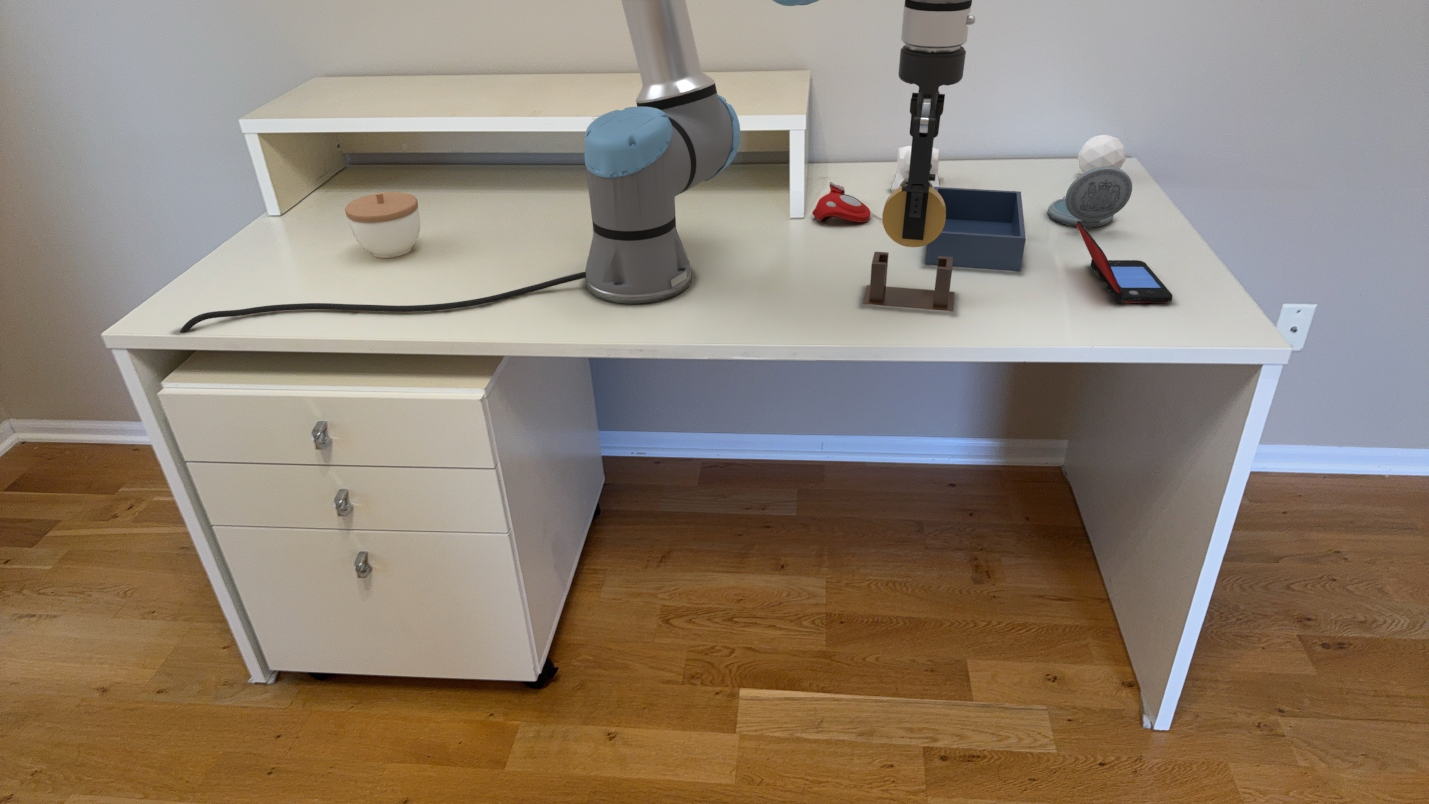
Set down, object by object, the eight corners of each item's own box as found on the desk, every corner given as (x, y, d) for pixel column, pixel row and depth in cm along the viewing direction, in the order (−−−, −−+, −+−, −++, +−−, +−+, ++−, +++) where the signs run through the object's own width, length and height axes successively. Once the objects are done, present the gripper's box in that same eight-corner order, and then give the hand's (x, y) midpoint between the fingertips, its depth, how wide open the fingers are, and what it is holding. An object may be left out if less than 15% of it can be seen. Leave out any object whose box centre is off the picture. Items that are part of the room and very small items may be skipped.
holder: (954, 295, 125) (959, 254, 122) (953, 314, 120) (958, 273, 117) (866, 288, 128) (869, 248, 125) (862, 306, 123) (864, 266, 120)
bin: (1019, 274, 130) (1025, 238, 127) (924, 267, 133) (928, 231, 130) (1015, 224, 146) (1021, 191, 143) (930, 219, 149) (934, 186, 146)
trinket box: (354, 244, 146) (340, 187, 141) (422, 233, 150) (410, 177, 145) (359, 269, 138) (343, 210, 133) (431, 256, 141) (418, 198, 136)
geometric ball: (1101, 190, 166) (1133, 153, 163) (1103, 188, 159) (1137, 150, 156) (1067, 164, 167) (1099, 127, 164) (1068, 161, 160) (1101, 123, 157)
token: (946, 245, 118) (944, 185, 114) (884, 249, 120) (880, 190, 116) (947, 239, 119) (945, 180, 115) (885, 243, 122) (881, 185, 118)
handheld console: (1174, 305, 121) (1188, 253, 117) (1090, 305, 121) (1102, 253, 117) (1142, 266, 131) (1154, 217, 127) (1065, 266, 132) (1075, 218, 128)
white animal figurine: (891, 193, 168) (890, 190, 154) (895, 145, 166) (894, 138, 152) (938, 195, 166) (942, 192, 152) (943, 147, 165) (947, 139, 150)
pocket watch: (1073, 167, 136) (1048, 138, 148) (1060, 236, 141) (1037, 202, 154) (1142, 167, 135) (1111, 137, 147) (1126, 236, 141) (1098, 202, 153)
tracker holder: (885, 212, 149) (840, 211, 143) (874, 235, 151) (830, 235, 146) (841, 176, 156) (797, 173, 150) (832, 199, 159) (788, 197, 153)
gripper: (965, 61, 99) (940, 260, 112) (967, 33, 111) (944, 215, 124) (896, 58, 101) (879, 255, 114) (905, 31, 113) (889, 211, 126)
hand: (913, 234), depth 119 cm, fingers closed on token, 2 cm apart
